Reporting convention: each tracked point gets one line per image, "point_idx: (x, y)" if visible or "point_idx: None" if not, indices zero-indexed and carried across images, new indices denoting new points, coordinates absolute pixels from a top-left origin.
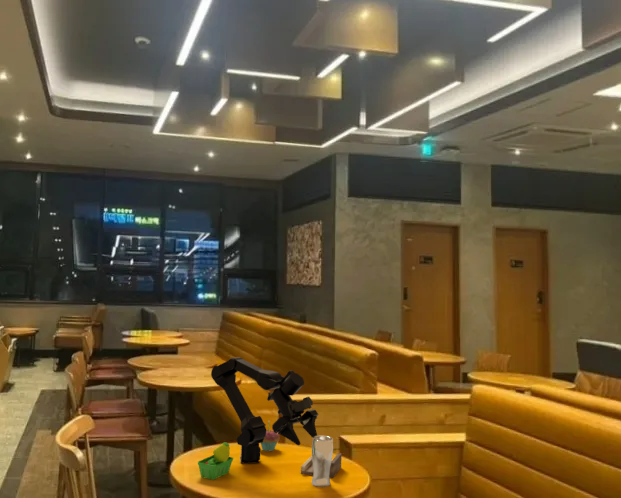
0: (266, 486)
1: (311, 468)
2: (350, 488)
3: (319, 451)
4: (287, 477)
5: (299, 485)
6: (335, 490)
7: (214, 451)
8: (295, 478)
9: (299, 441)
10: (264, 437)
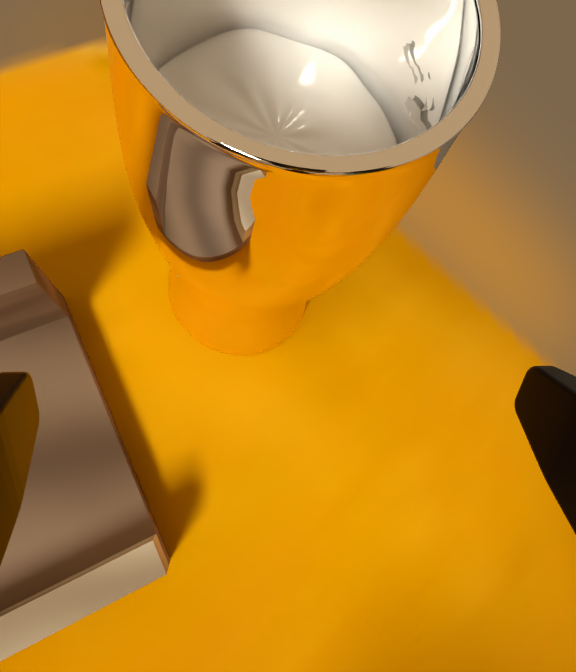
0: None
1: (36, 546)
2: None
3: (408, 87)
4: (326, 568)
5: (380, 376)
6: None
7: None
8: (294, 504)
9: (568, 381)
10: None
